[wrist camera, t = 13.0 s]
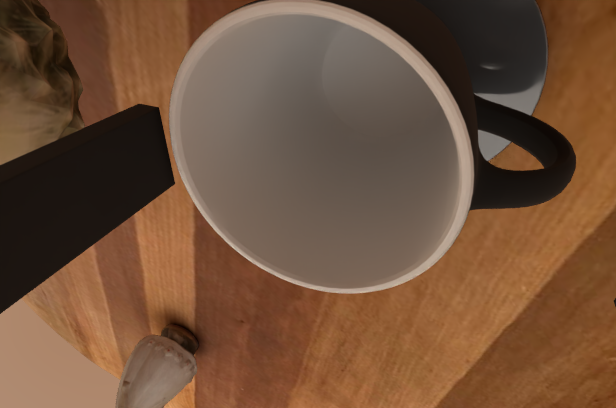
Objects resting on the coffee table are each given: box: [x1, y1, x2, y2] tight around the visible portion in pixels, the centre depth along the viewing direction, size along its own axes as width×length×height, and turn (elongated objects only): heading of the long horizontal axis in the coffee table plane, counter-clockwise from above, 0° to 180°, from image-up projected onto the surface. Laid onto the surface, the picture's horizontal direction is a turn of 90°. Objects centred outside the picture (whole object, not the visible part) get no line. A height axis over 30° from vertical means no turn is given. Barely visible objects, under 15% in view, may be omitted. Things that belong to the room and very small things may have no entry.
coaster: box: [415, 0, 548, 161], centre depth 18 cm, size 11×11×1 cm
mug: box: [169, 0, 576, 293], centre depth 14 cm, size 12×9×10 cm
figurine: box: [116, 324, 199, 408], centre depth 37 cm, size 8×7×15 cm
